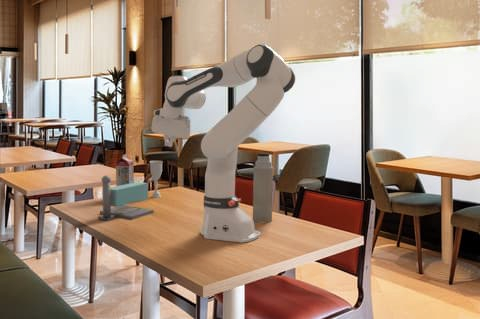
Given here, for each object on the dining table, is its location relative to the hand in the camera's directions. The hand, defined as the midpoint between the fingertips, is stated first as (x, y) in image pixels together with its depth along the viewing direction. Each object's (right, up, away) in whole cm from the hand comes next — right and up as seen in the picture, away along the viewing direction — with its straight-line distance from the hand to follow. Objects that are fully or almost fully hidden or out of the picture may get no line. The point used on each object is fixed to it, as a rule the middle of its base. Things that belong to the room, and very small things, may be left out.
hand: (168, 146), depth 204 cm
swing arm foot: (-24, -30, -7) cm, 39 cm away
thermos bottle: (+40, -31, -4) cm, 51 cm away
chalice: (-12, -25, +40) cm, 49 cm away
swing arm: (-19, -28, +2) cm, 34 cm away
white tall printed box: (-27, -25, +34) cm, 50 cm away
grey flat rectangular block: (-18, -29, +4) cm, 34 cm away
